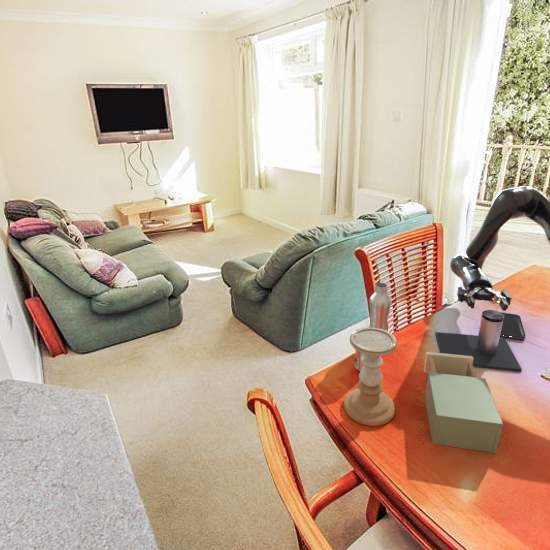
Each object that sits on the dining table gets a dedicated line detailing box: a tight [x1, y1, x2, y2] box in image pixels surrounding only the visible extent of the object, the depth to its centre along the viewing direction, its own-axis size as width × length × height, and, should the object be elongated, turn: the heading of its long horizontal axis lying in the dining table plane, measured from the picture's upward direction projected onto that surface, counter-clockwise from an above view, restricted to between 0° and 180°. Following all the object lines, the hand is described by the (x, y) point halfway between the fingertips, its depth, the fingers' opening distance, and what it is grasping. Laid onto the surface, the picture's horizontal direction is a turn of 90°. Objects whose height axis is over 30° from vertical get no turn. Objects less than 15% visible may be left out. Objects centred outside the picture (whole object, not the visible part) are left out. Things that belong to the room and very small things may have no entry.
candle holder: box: [343, 327, 398, 427], centre depth 89 cm, size 12×12×20 cm
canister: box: [476, 309, 504, 355], centre depth 108 cm, size 6×6×12 cm
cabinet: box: [424, 372, 504, 454], centre depth 85 cm, size 15×13×8 cm
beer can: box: [354, 349, 364, 372], centre depth 105 cm, size 5×5×12 cm
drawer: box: [423, 351, 478, 378], centre depth 95 cm, size 15×11×6 cm
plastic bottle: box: [368, 282, 392, 332], centre depth 115 cm, size 6×7×20 cm
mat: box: [434, 331, 523, 373], centre depth 112 cm, size 20×16×1 cm
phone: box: [499, 311, 526, 340], centre depth 123 cm, size 8×1×15 cm
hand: (489, 306), depth 110 cm, fingers open, 8 cm apart
